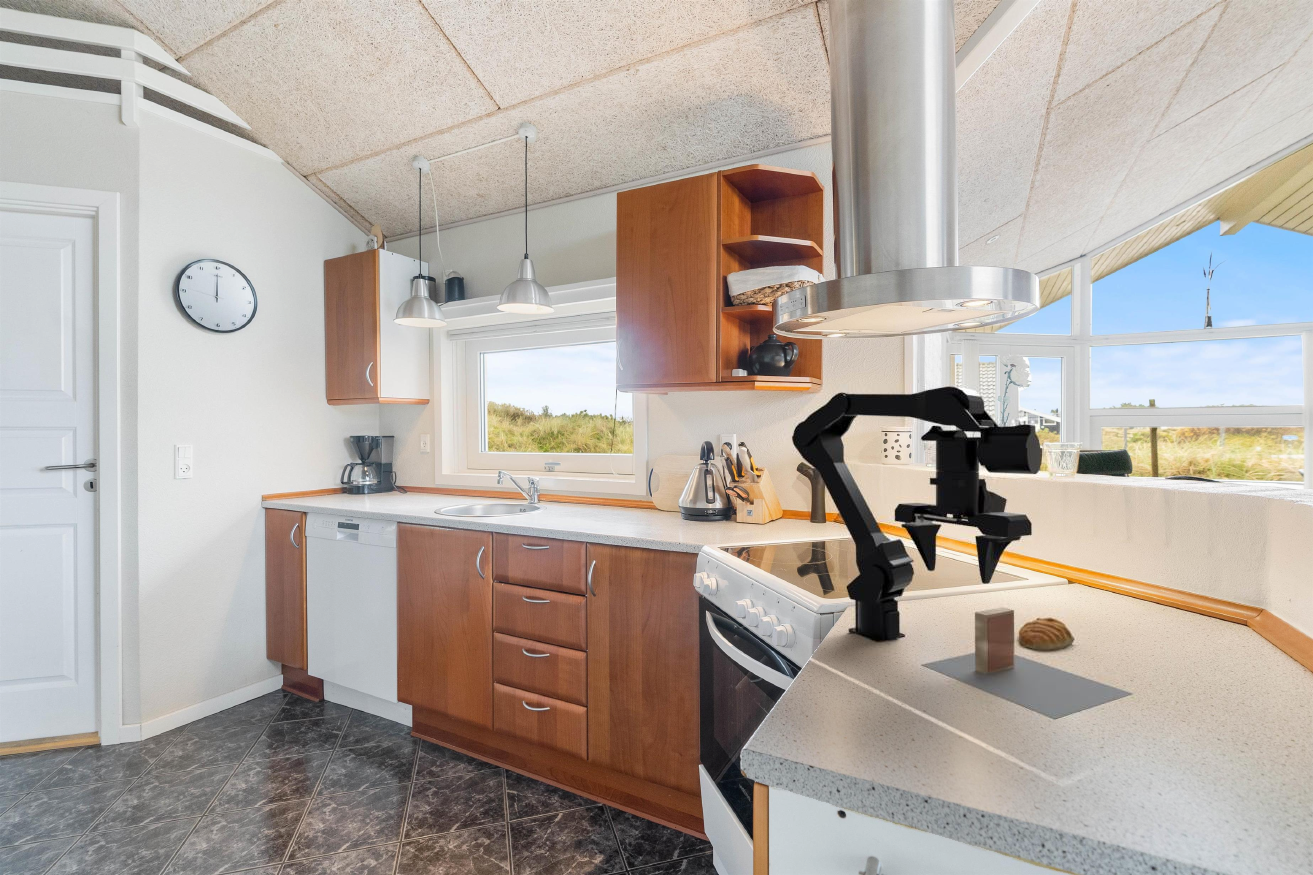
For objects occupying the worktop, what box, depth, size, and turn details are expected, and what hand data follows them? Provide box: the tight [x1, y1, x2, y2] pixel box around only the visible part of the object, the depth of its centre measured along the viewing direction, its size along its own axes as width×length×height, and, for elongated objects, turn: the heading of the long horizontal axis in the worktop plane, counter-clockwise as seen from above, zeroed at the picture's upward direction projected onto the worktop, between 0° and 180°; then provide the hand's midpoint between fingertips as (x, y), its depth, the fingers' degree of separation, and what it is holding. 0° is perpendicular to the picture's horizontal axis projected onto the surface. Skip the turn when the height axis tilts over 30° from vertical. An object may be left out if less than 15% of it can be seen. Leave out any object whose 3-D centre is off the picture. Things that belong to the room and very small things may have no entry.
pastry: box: [1018, 617, 1075, 651], centre depth 91 cm, size 9×7×4 cm
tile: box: [974, 606, 1016, 675], centre depth 80 cm, size 2×6×8 cm, turn 115°
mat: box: [921, 652, 1133, 720], centre depth 77 cm, size 18×16×1 cm
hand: (957, 576), depth 85 cm, fingers open, 9 cm apart
